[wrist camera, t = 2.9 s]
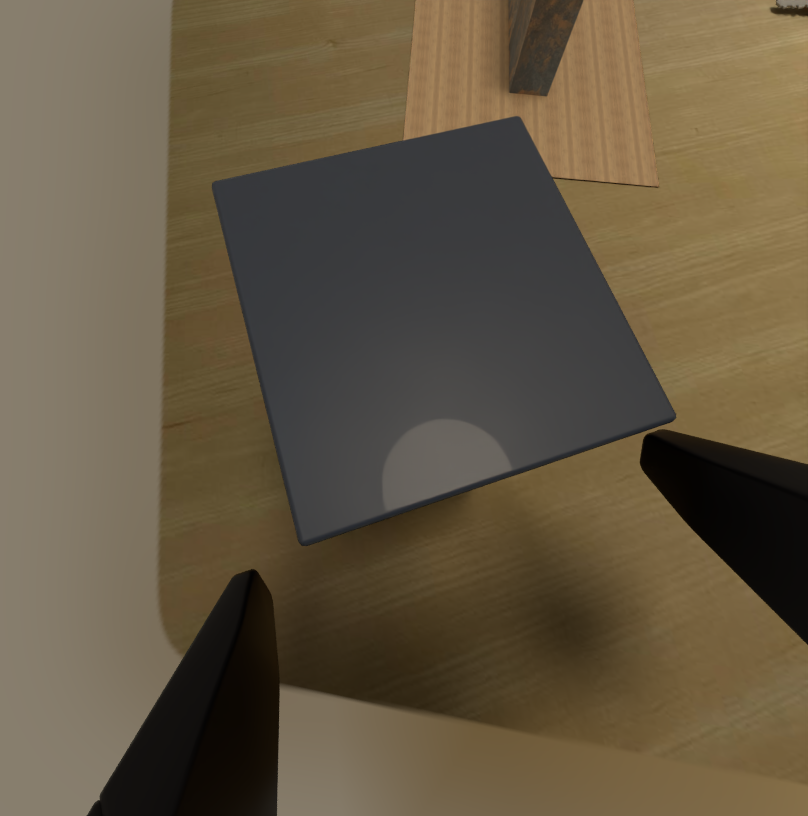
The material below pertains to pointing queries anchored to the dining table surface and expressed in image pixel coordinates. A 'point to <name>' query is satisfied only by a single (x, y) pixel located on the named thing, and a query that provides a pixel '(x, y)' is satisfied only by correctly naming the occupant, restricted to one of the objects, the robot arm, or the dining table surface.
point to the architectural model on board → (537, 80)
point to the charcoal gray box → (426, 324)
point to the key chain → (792, 3)
